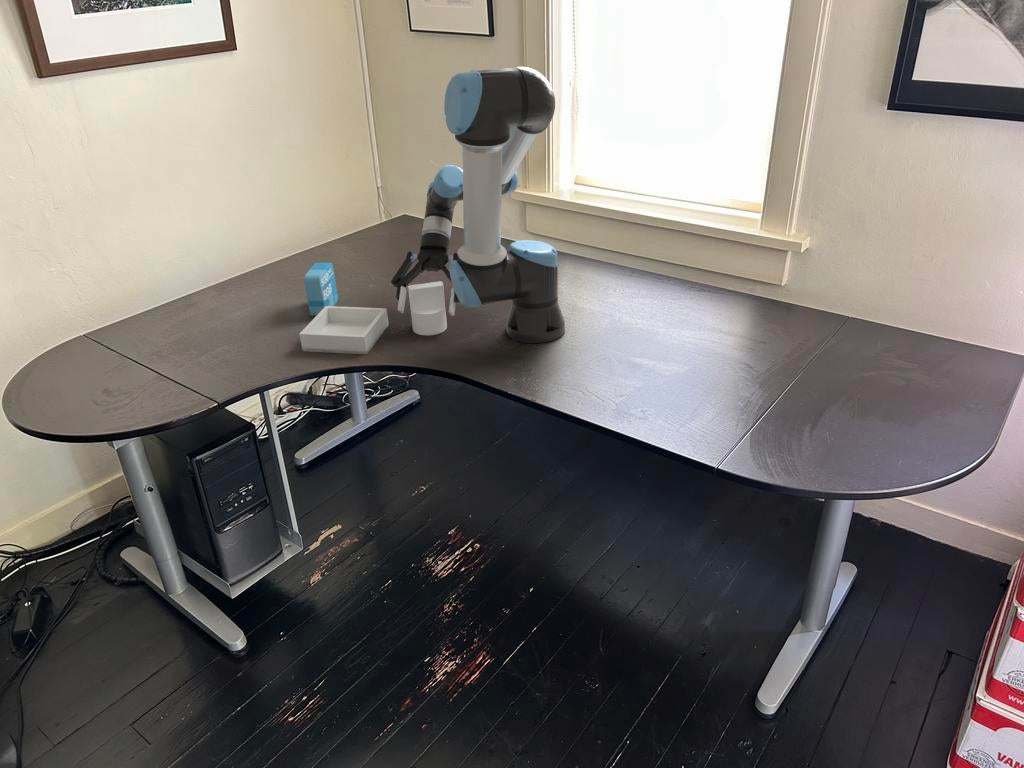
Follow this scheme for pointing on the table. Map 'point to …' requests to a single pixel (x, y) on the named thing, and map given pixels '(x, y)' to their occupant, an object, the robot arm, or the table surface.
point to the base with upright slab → (427, 308)
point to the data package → (320, 287)
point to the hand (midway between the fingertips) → (425, 312)
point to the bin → (344, 330)
